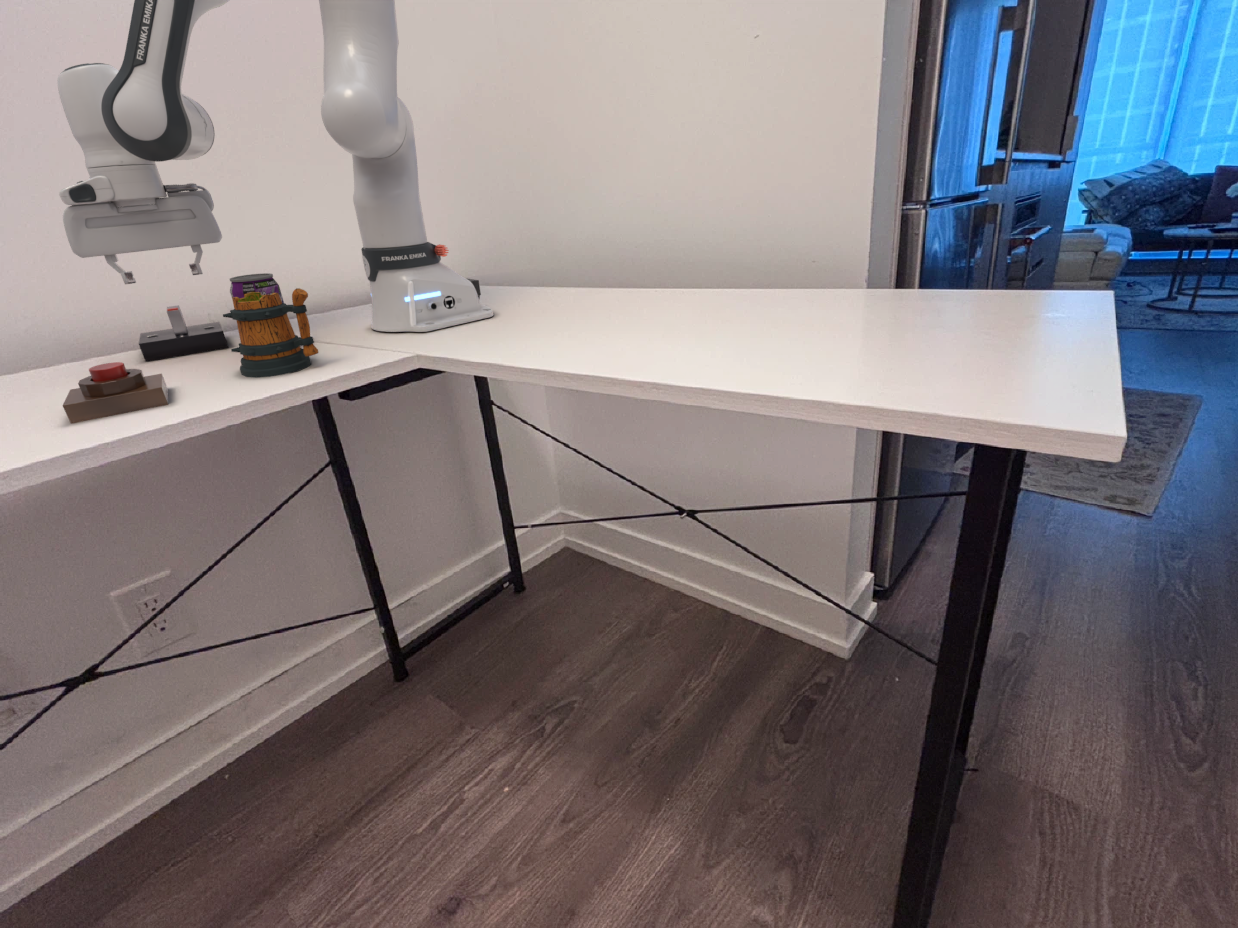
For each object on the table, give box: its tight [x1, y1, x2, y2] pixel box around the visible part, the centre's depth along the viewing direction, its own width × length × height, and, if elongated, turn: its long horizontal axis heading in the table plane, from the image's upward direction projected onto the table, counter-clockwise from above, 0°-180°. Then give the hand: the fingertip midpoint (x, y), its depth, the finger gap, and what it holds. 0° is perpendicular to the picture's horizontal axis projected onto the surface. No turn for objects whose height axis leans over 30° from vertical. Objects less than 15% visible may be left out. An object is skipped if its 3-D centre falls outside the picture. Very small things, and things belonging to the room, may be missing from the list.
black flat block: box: [138, 321, 230, 363], centre depth 107 cm, size 12×10×3 cm
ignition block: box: [62, 368, 169, 424], centre depth 80 cm, size 10×8×4 cm
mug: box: [222, 287, 319, 379], centre depth 91 cm, size 13×10×12 cm
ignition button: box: [88, 361, 128, 382], centre depth 79 cm, size 4×4×2 cm
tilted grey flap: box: [166, 305, 188, 335], centre depth 106 cm, size 6×2×4 cm, turn 33°
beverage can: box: [229, 272, 289, 317], centre depth 101 cm, size 7×7×12 cm
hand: (165, 278), depth 103 cm, fingers open, 8 cm apart
